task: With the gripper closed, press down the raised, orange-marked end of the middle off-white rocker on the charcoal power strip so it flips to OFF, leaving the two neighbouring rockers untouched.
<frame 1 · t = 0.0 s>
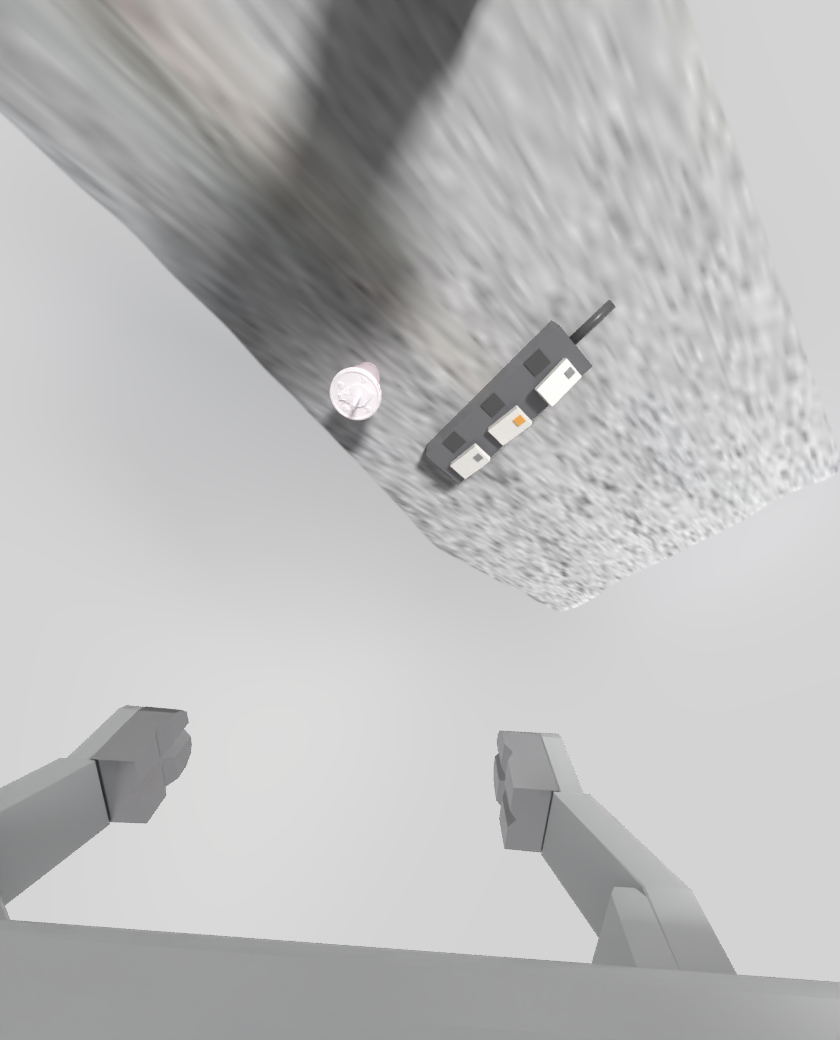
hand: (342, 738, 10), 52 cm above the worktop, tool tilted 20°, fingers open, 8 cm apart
power strip: (499, 405, 57), on the worktop
rocker 2: (509, 426, 53), point 5 cm above the worktop, hinge at 12.0°
smoothie: (367, 374, 56), on the worktop
rocker 3: (470, 461, 57), point 5 cm above the worktop, hinge at 12.0°
rocker 1: (557, 382, 50), point 5 cm above the worktop, hinge at -12.0°
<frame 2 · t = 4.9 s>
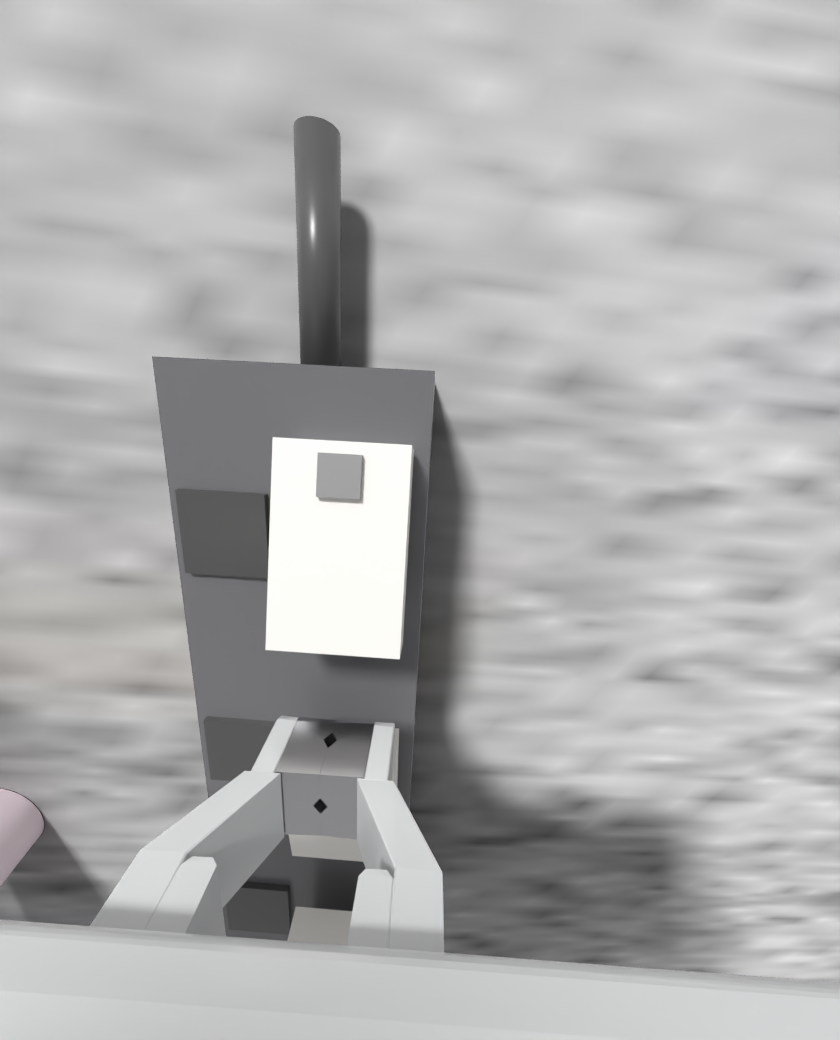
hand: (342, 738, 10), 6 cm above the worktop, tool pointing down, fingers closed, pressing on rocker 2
power strip: (336, 673, 17), on the worktop
rocker 2: (342, 798, 12), point 5 cm above the worktop, hinge at 9.3°, touching gripper
smoothie: (12, 812, 20), on the worktop
rocker 3: (342, 962, 14), point 5 cm above the worktop, hinge at 12.0°
rocker 1: (341, 547, 9), point 5 cm above the worktop, hinge at -12.0°
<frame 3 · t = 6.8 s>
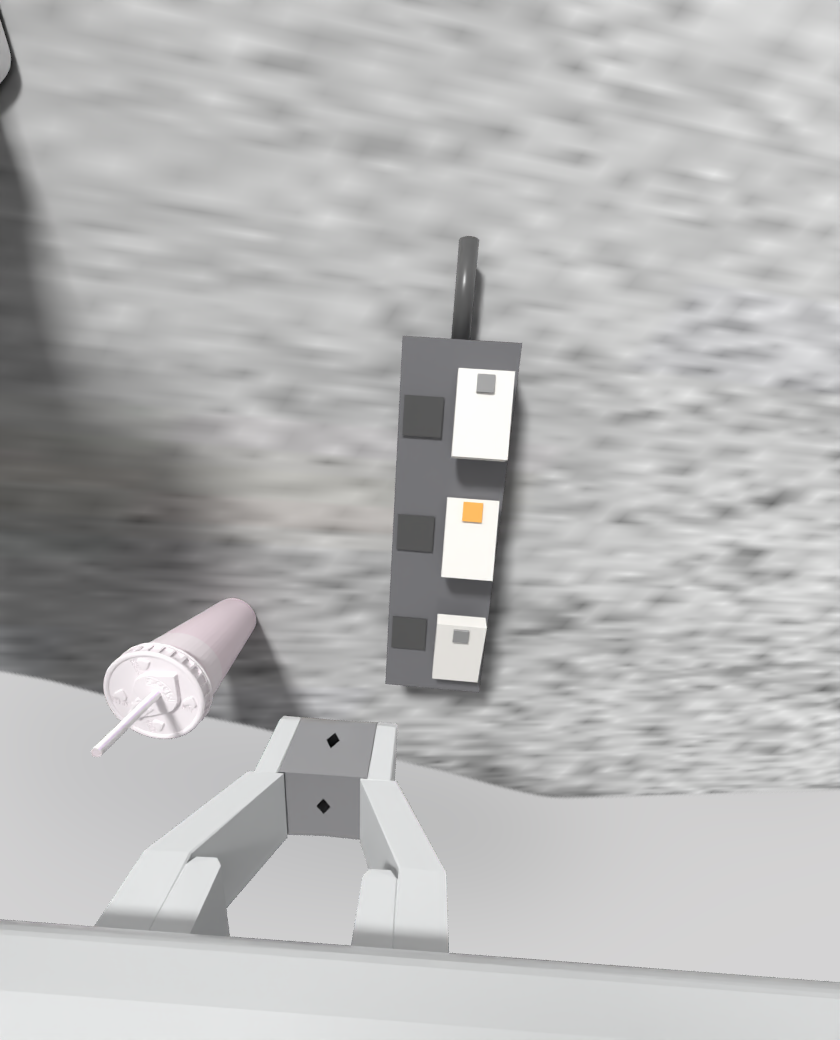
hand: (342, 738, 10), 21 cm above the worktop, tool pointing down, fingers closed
power strip: (444, 519, 30), on the worktop
rocker 2: (469, 538, 24), point 5 cm above the worktop, hinge at -11.4°
smoothie: (236, 616, 33), on the worktop
rocker 3: (458, 649, 26), point 5 cm above the worktop, hinge at 12.0°
rocker 1: (482, 415, 22), point 5 cm above the worktop, hinge at -12.0°
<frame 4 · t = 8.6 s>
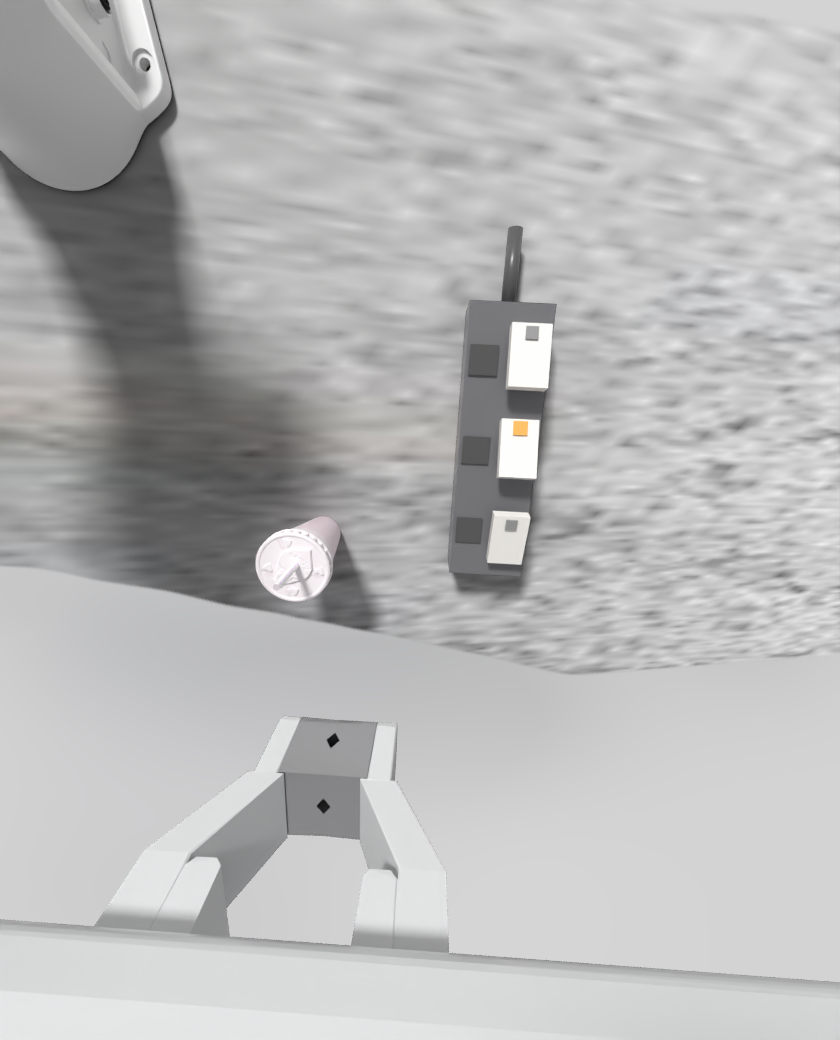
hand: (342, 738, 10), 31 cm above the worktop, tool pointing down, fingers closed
power strip: (491, 447, 38), on the worktop
rocker 2: (517, 449, 33), point 5 cm above the worktop, hinge at -16.8°, touching power strip
smoothie: (324, 532, 42), on the worktop
rocker 3: (507, 538, 35), point 5 cm above the worktop, hinge at 12.0°
rocker 1: (528, 357, 31), point 5 cm above the worktop, hinge at -12.0°
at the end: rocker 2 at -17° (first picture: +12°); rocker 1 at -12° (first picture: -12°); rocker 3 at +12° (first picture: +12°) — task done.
